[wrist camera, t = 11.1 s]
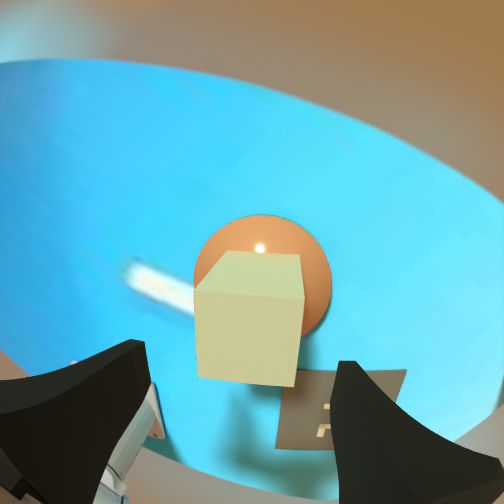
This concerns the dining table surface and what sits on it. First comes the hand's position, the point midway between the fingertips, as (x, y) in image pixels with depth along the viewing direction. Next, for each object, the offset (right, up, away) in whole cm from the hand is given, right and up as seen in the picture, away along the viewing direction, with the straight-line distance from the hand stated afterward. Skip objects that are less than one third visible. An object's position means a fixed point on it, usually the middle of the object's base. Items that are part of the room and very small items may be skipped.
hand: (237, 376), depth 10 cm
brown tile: (+8, -10, +12) cm, 17 cm away
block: (+1, +2, +9) cm, 9 cm away
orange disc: (+1, +3, +10) cm, 10 cm away
